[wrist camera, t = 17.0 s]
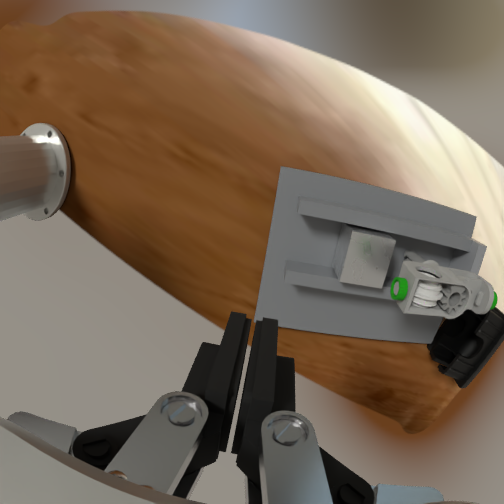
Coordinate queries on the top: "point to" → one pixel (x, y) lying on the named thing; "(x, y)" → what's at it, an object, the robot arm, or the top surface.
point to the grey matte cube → (363, 255)
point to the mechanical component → (439, 289)
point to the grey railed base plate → (324, 247)
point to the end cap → (467, 344)
